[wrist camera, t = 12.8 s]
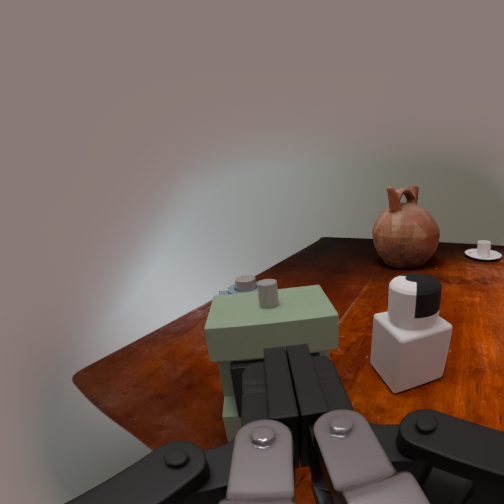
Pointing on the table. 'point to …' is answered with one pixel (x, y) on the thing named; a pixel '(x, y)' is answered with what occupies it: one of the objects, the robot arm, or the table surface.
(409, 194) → the jug
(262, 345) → the green block with peg
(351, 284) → the table surface
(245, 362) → the paddle
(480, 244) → the candle holder
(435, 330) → the medicine bottle
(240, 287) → the short grey cylinder plug
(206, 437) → the table surface
